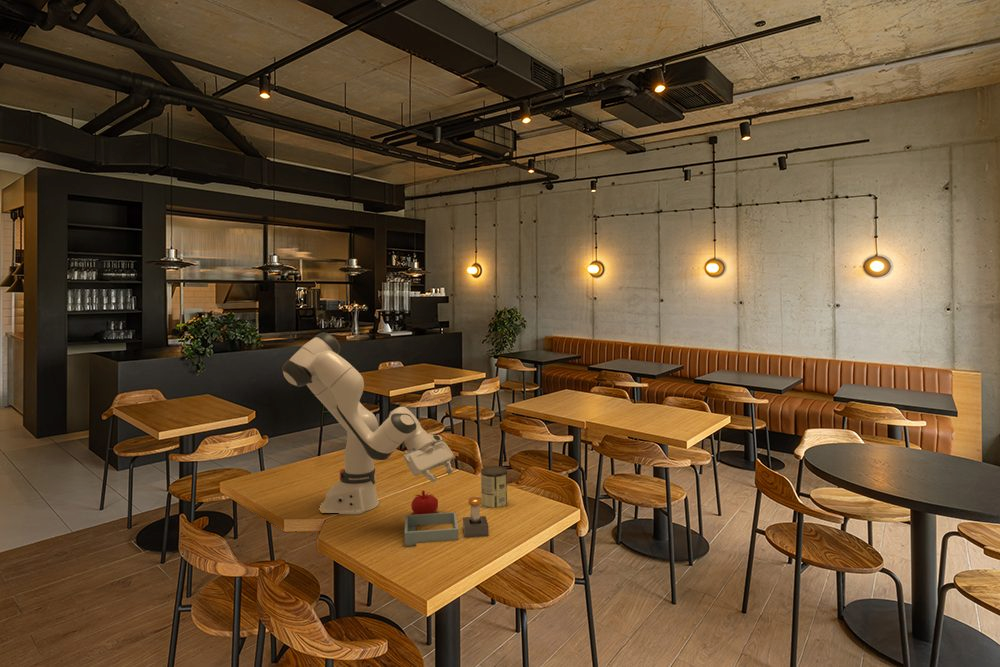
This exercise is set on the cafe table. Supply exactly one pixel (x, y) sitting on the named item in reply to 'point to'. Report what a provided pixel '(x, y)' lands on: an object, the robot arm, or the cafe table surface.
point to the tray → (429, 535)
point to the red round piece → (424, 504)
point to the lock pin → (475, 509)
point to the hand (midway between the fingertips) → (443, 477)
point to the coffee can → (494, 486)
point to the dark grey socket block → (475, 527)
